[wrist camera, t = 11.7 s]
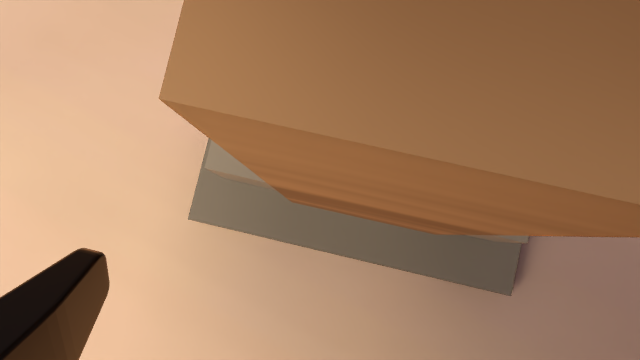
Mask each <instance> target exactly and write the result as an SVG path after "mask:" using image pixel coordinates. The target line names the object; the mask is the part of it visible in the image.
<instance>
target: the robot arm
mask: <svg viewBox="0 0 640 360" xmlns="http://www.w3.org/2000/svg"><path fill="white" fill-rule="evenodd" d="M108 290H109V276H108V269H107V261H106V257H105V255H104V254H103V253H102V252H99V251H95V250H91V249H86V248H80V249H77V250H76V251H74V252H72V253H71V254H69V255H67V256H66V257H64V258H63V259H61V260H59V261H58V262H56V263H55V264H53V265H51V266H50V267H48V268H47V269H45V270H43V271H42V272H40V273H39V274H37V275H35V276H34V277H32V278H31V279H29V280H27V281H26V282H24V283H23V284H21V285H19V286H18V287H16V288H15V289H13V290H11V291H10V292H8V293H7V294H5V295H3V296H2V297H0V360H79V358H80V356H81V353H82V351H83V349H84V347H85V344H86V342H87V340H88V338H89V335H90V333H91V331H92V328H93V326H94V324H95V322H96V319H97V317H98V315H99V313H100V310H101V308H102V306H103V303H104V301H105V299H106V297H107V294H108Z"/></svg>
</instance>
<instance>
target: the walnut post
mask: <svg viewBox="0 0 640 360" xmlns="http://www.w3.org/2000/svg"><path fill="white" fill-rule="evenodd" d="M159 99H160V100H161V101H162V102H164V103H165V104H166V105H167V106H169V107H170V108H171V109H173V110H174V111H175V112H176V113H178V114H179V115H180V116H182V117H183V118H184V119H185V120H187V121H188V122H189V123H190V124H192V125H193V126H194V127H196V128H197V129H198V130H199V131H201V132H202V133H203V134H205V135H206V136H207V137H208V138H210V139H211V140H212V141H214V142H215V143H216V144H217V145H219V146H220V147H221V148H223V149H224V150H225V151H226V152H228V153H229V154H230V155H232V156H233V157H234V158H235V159H237V160H238V161H239V162H241V163H242V164H243V165H244V166H246V167H247V168H248V169H250V170H251V171H252V172H253V173H255V174H256V175H257V176H259V177H260V178H261V179H262V180H264V181H265V182H266V183H267V184H269V185H270V186H271V187H273V188H274V189H275V190H276V191H278V192H279V193H280V194H282V195H283V196H284V197H285V198H287V199H288V200H289V201H291V202H293V203H297V204H301V205H306V206H310V207H315V208H319V209H324V210H328V211H332V212H337V213H341V214H346V215H350V216H355V217H359V218H363V219H368V220H372V221H377V222H381V223H386V224H390V225H395V226H399V227H403V228H408V229H412V230H417V231H421V232H426V233H430V234H435V235H507V236H580V237H640V0H184V3H183V6H182V10H181V14H180V18H179V22H178V26H177V30H176V34H175V38H174V41H173V45H172V49H171V53H170V57H169V61H168V65H167V69H166V73H165V76H164V80H163V84H162V88H161V92H160V96H159Z"/></svg>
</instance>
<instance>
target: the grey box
mask: <svg viewBox="0 0 640 360" xmlns="http://www.w3.org/2000/svg"><path fill="white" fill-rule="evenodd" d="M188 219H189V220H193V221H197V222H202V223H206V224H210V225H214V226H218V227H223V228H227V229H231V230H235V231H239V232H244V233H248V234H252V235H256V236H260V237H265V238H269V239H273V240H277V241H281V242H286V243H290V244H294V245H298V246H302V247H307V248H311V249H315V250H319V251H323V252H328V253H332V254H336V255H340V256H344V257H349V258H353V259H357V260H361V261H365V262H370V263H374V264H378V265H382V266H386V267H391V268H395V269H399V270H403V271H407V272H412V273H416V274H420V275H424V276H428V277H433V278H437V279H441V280H445V281H449V282H454V283H458V284H462V285H466V286H470V287H475V288H479V289H483V290H487V291H491V292H496V293H500V294H504V295H508V296H511V294H512V289H513V284H514V279H515V274H516V269H517V264H518V259H519V254H520V249H521V244H522V243H525V244H528V239H529V236H507V235H435V234H430V233H426V232H421V231H417V230H412V229H408V228H403V227H399V226H395V225H390V224H386V223H381V222H377V221H372V220H368V219H363V218H359V217H355V216H350V215H346V214H341V213H337V212H332V211H328V210H324V209H319V208H315V207H310V206H306V205H301V204H297V203H293V202H291V201H289V200H288V199H287V198H285V197H284V196H283V195H282V194H280V193H279V192H278V191H276V190H275V189H274V188H273V187H271V186H270V185H269V184H267V183H266V182H265V181H264V180H262V179H261V178H260V177H259V176H257V175H256V174H255V173H253V172H252V171H251V170H250V169H248V168H247V167H246V166H244V165H243V164H242V163H241V162H239V161H238V160H237V159H235V158H234V157H233V156H232V155H230V154H229V153H228V152H226V151H225V150H224V149H223V148H221V147H220V146H219V145H217V144H216V143H215V142H214V141H212V140H211V139H210V138H209V139H208V143H207V147H206V151H205V155H204V158H203V162H202V166H201V170H200V174H199V178H198V182H197V186H196V190H195V194H194V197H193V201H192V205H191V209H190V213H189V217H188Z"/></svg>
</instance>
